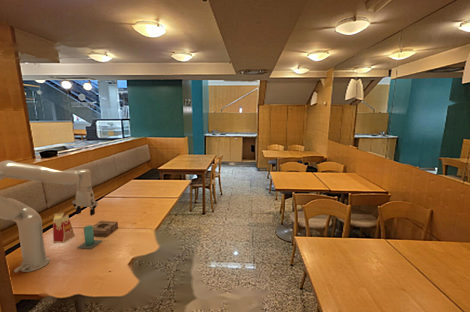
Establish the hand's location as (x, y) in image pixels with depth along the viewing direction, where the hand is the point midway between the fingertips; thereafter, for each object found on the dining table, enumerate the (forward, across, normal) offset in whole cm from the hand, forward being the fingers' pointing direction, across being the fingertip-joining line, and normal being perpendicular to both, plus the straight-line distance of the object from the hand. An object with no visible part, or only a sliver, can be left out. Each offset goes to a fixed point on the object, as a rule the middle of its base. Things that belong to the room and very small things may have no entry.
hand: (85, 214), depth 143 cm
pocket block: (+21, +2, -18) cm, 28 cm away
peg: (+21, -1, -1) cm, 21 cm away
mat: (+22, -1, -1) cm, 22 cm away
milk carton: (+22, +22, -5) cm, 32 cm away
